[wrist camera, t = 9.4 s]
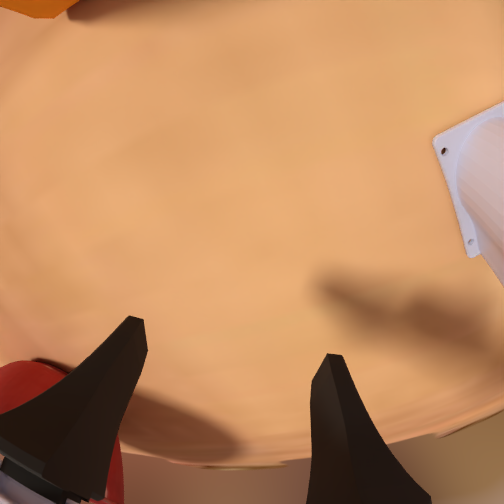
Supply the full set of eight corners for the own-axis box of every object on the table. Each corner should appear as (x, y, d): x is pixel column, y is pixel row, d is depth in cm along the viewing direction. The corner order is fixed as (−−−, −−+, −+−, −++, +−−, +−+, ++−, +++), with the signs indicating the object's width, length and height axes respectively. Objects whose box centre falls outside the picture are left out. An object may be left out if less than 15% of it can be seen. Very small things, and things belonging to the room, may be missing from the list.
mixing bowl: (-26, 327, 35) (-69, 393, 22) (61, 315, 27) (-8, 438, 14) (70, 422, 49) (47, 482, 36) (184, 439, 41) (165, 525, 29)
